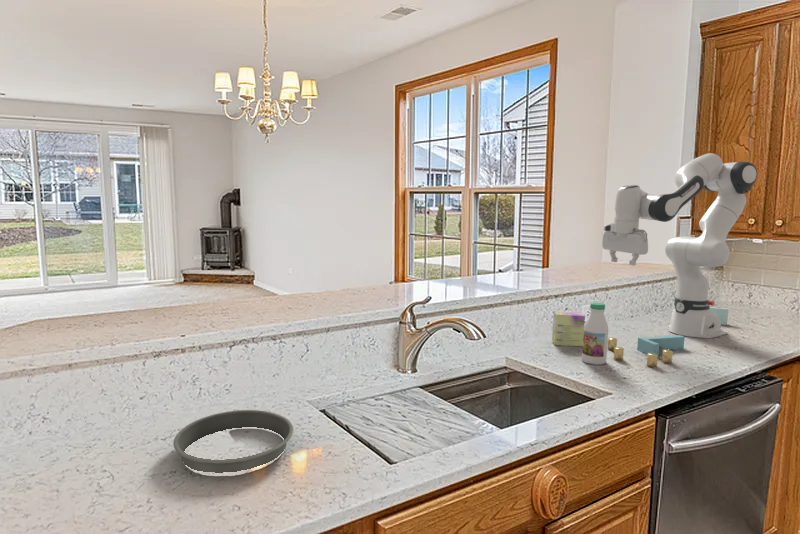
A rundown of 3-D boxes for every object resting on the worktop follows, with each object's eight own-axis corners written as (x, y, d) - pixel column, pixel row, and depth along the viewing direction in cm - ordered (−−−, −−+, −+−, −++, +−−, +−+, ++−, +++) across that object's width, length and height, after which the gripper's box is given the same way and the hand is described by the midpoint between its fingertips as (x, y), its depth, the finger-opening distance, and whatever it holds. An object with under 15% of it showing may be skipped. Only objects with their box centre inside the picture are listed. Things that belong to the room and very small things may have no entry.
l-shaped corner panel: (726, 326, 230) (728, 309, 229) (695, 322, 235) (696, 306, 234) (723, 320, 241) (724, 304, 240) (693, 317, 246) (694, 301, 245)
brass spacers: (626, 346, 196) (627, 335, 196) (676, 364, 176) (678, 352, 175) (591, 350, 190) (592, 339, 190) (638, 369, 170) (639, 357, 169)
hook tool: (678, 346, 196) (679, 335, 196) (696, 353, 188) (697, 341, 188) (637, 349, 192) (638, 337, 191) (653, 356, 184) (654, 344, 183)
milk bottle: (588, 356, 183) (592, 300, 180) (610, 361, 178) (614, 303, 175) (577, 361, 178) (581, 303, 175) (599, 367, 172) (603, 307, 169)
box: (579, 342, 200) (581, 312, 199) (583, 346, 195) (585, 315, 193) (551, 341, 201) (553, 311, 200) (554, 345, 196) (556, 314, 194)
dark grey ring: (285, 480, 104) (285, 459, 103) (156, 485, 102) (154, 463, 101) (299, 425, 128) (299, 407, 127) (194, 428, 126) (194, 410, 125)
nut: (657, 352, 190) (658, 345, 189) (665, 355, 186) (666, 348, 185) (648, 352, 189) (649, 345, 189) (657, 356, 185) (657, 349, 185)
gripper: (653, 229, 194) (650, 267, 196) (613, 226, 213) (610, 260, 215) (640, 230, 192) (637, 267, 194) (600, 226, 211) (598, 260, 213)
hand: (623, 263), depth 205 cm, fingers open, 8 cm apart
